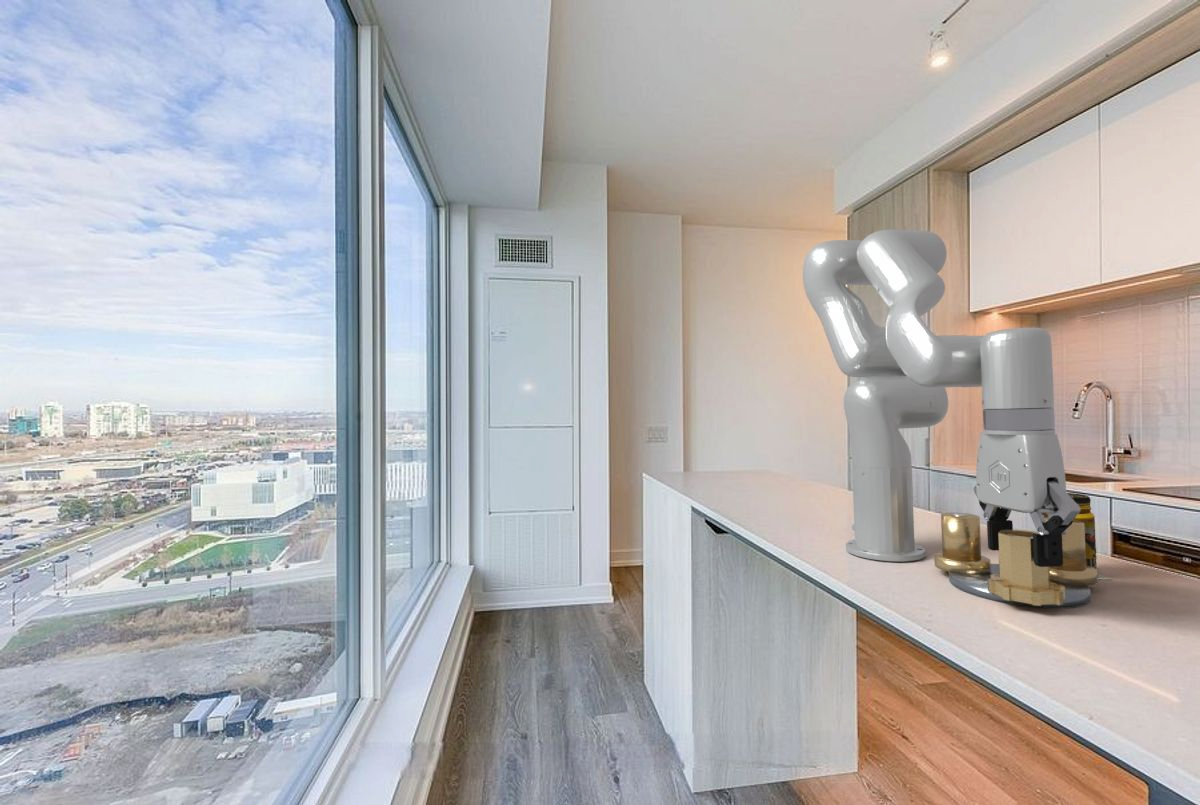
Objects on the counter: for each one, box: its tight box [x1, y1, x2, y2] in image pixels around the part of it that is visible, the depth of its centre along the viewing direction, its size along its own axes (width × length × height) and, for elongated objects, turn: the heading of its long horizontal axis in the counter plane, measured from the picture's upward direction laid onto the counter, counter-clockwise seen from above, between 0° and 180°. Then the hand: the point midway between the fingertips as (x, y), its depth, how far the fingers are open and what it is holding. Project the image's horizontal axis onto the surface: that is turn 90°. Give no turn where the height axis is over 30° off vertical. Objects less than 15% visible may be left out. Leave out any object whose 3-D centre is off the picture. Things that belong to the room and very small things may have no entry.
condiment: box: [1043, 492, 1112, 581], centre depth 85 cm, size 7×8×12 cm
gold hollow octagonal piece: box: [987, 528, 1065, 606], centre depth 72 cm, size 8×8×8 cm
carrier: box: [933, 512, 1098, 609], centre depth 79 cm, size 18×19×9 cm
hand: (1023, 556), depth 72 cm, fingers open, 7 cm apart
